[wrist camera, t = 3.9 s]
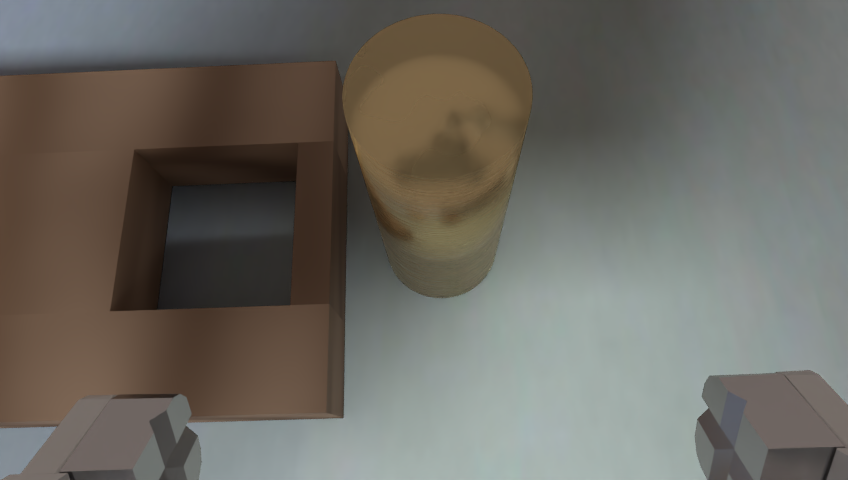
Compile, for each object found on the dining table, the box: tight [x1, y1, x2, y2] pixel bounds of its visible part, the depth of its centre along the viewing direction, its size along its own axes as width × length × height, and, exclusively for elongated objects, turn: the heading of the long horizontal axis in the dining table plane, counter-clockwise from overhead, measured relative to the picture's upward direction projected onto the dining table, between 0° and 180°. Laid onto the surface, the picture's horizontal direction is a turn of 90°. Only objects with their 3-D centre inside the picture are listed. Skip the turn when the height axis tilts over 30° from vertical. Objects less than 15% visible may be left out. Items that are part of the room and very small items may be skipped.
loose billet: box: [342, 14, 533, 298], centre depth 17 cm, size 4×4×10 cm
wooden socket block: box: [0, 61, 348, 428], centre depth 21 cm, size 21×12×3 cm, turn 92°
